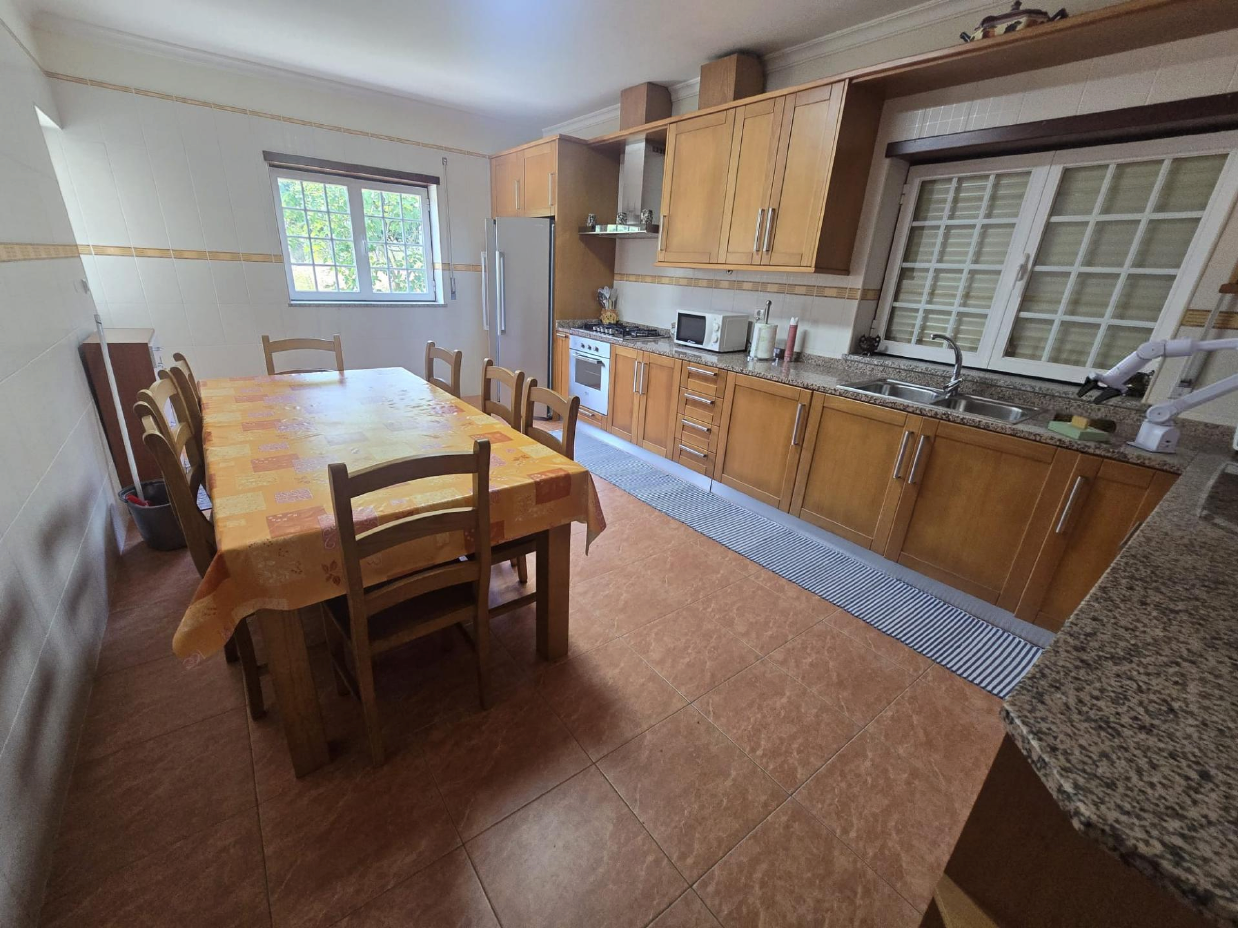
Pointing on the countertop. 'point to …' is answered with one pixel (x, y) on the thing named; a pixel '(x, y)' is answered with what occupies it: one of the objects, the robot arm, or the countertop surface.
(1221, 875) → the countertop surface
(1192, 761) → the countertop surface
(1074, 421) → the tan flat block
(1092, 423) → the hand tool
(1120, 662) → the countertop surface
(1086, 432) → the green flat block
